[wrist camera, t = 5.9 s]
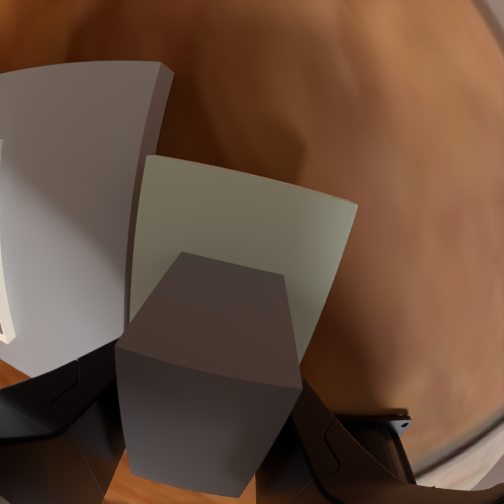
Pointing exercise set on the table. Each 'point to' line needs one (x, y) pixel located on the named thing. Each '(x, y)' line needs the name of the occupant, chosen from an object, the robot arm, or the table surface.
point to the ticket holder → (72, 203)
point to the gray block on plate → (220, 318)
